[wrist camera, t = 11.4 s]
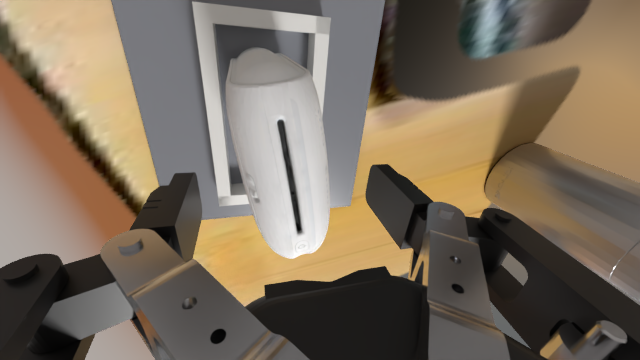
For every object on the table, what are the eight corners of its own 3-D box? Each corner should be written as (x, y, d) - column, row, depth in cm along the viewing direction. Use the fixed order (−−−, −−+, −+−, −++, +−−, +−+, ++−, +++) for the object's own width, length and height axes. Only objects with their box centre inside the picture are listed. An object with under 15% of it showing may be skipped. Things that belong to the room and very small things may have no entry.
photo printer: (300, 165, 24) (345, 265, 14) (255, 174, 23) (267, 287, 13) (283, 43, 19) (336, 59, 9) (223, 50, 18) (203, 76, 8)
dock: (381, -16, 20) (402, -23, 17) (347, 200, 29) (357, 216, 27) (101, -62, 15) (73, -82, 12) (171, 216, 24) (163, 237, 22)
